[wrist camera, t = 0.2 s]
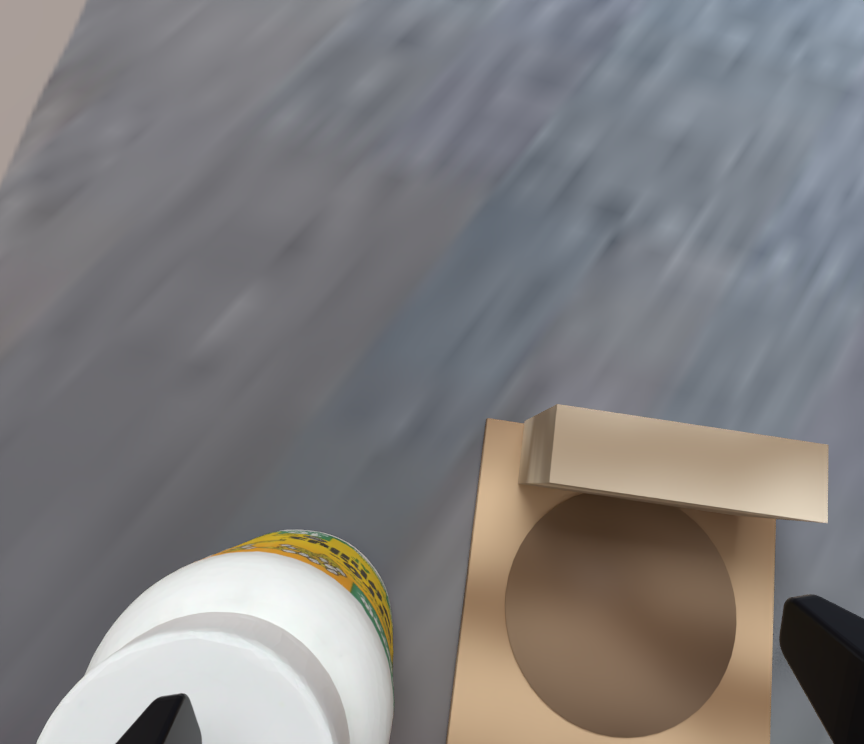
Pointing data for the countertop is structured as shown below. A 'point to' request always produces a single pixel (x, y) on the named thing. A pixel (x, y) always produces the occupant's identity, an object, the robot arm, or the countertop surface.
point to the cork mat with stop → (625, 580)
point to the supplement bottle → (249, 650)
